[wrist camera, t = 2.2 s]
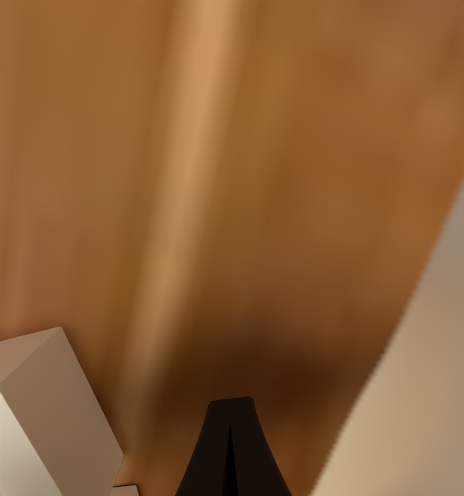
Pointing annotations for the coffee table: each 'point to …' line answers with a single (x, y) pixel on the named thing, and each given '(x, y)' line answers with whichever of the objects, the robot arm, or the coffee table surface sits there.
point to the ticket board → (125, 491)
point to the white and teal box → (51, 422)
